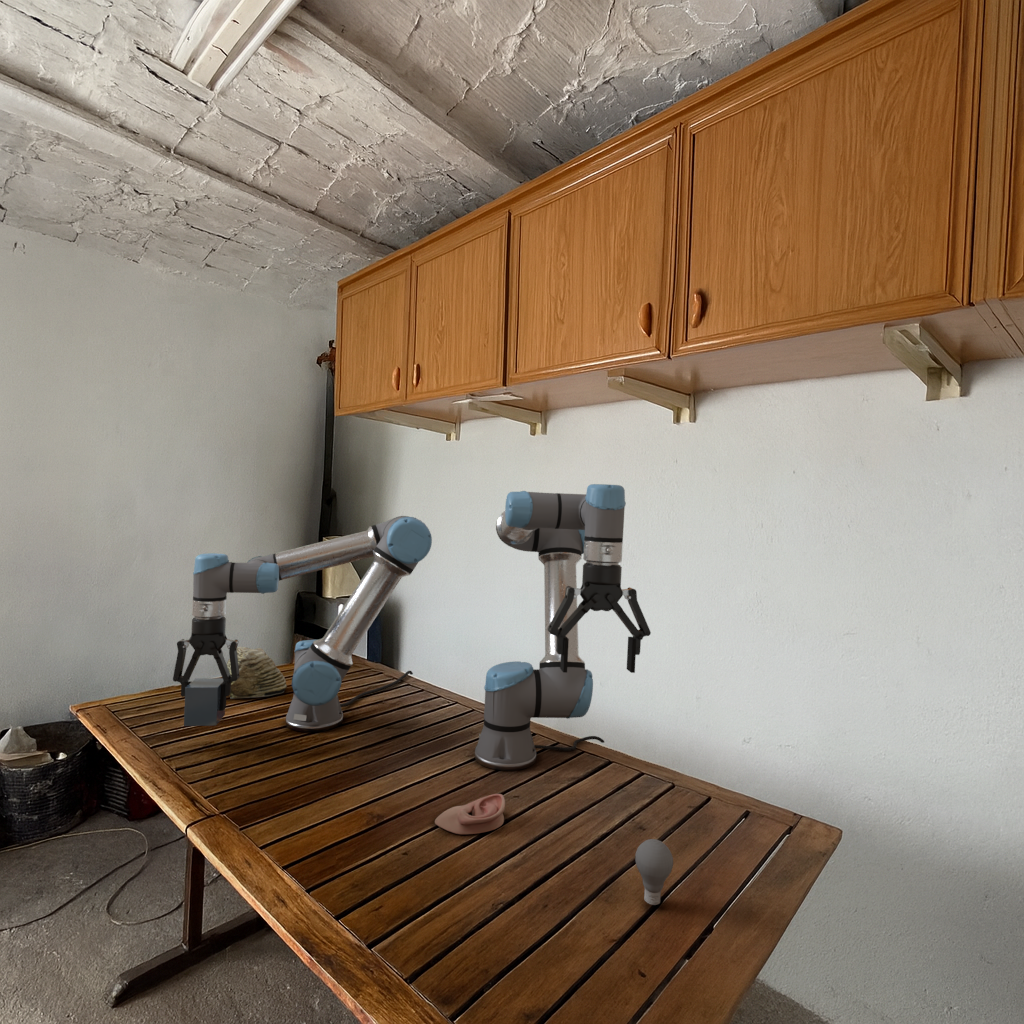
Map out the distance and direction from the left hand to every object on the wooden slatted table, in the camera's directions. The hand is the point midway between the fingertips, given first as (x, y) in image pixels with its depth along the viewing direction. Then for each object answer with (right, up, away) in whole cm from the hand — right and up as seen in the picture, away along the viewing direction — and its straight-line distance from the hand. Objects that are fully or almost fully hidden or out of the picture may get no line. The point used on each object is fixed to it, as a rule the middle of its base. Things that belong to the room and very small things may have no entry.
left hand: (205, 709), depth 156 cm
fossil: (-5, -9, +42) cm, 43 cm away
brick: (0, -3, 0) cm, 3 cm away
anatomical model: (+67, -13, -30) cm, 75 cm away
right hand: (+92, +17, -31) cm, 99 cm away
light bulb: (+98, -15, -53) cm, 113 cm away
